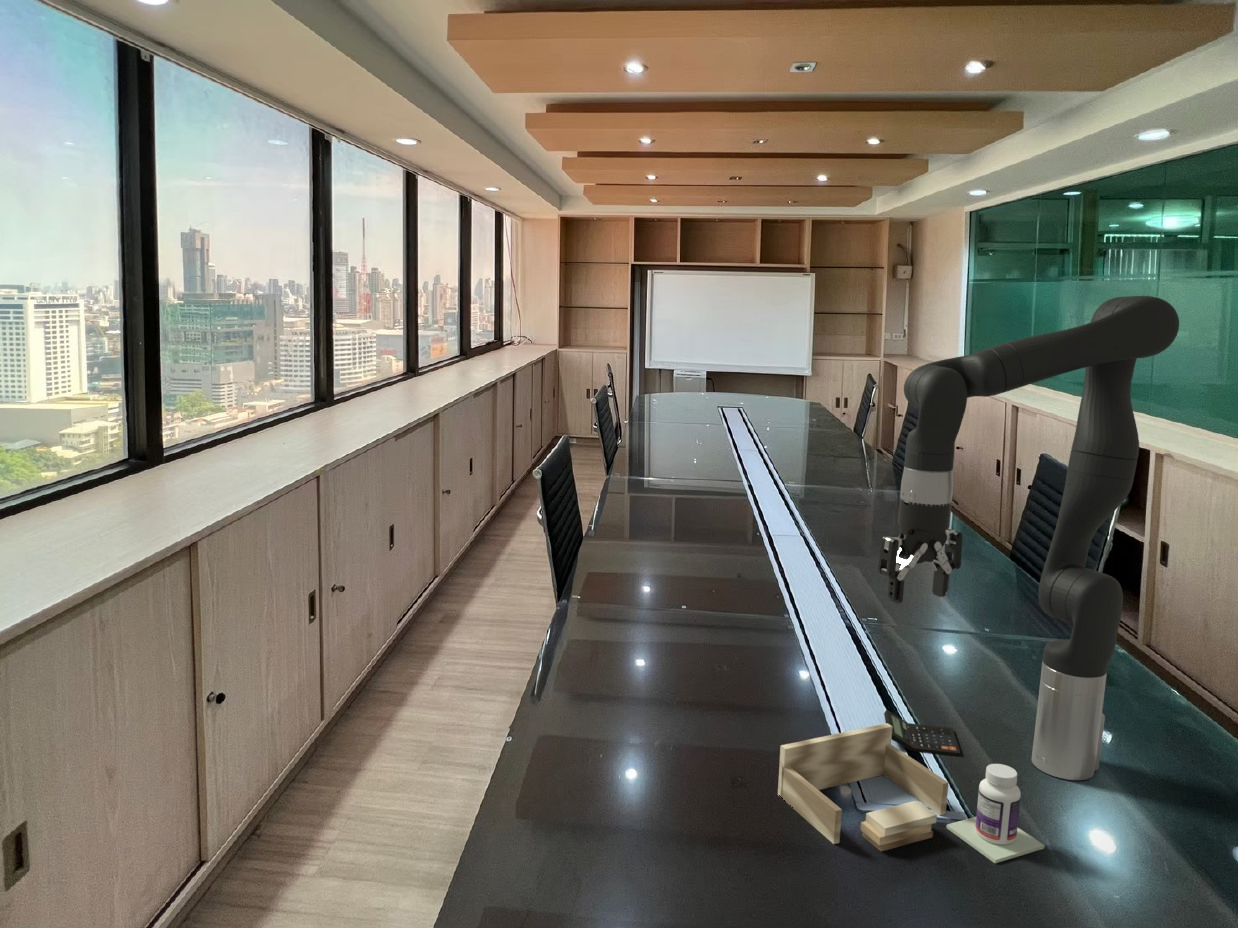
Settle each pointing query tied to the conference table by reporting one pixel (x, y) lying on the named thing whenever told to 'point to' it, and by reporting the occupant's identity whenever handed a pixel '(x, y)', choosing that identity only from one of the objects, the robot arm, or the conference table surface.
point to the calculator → (923, 736)
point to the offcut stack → (898, 825)
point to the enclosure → (850, 773)
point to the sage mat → (991, 850)
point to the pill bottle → (998, 805)
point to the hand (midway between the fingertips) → (917, 598)
